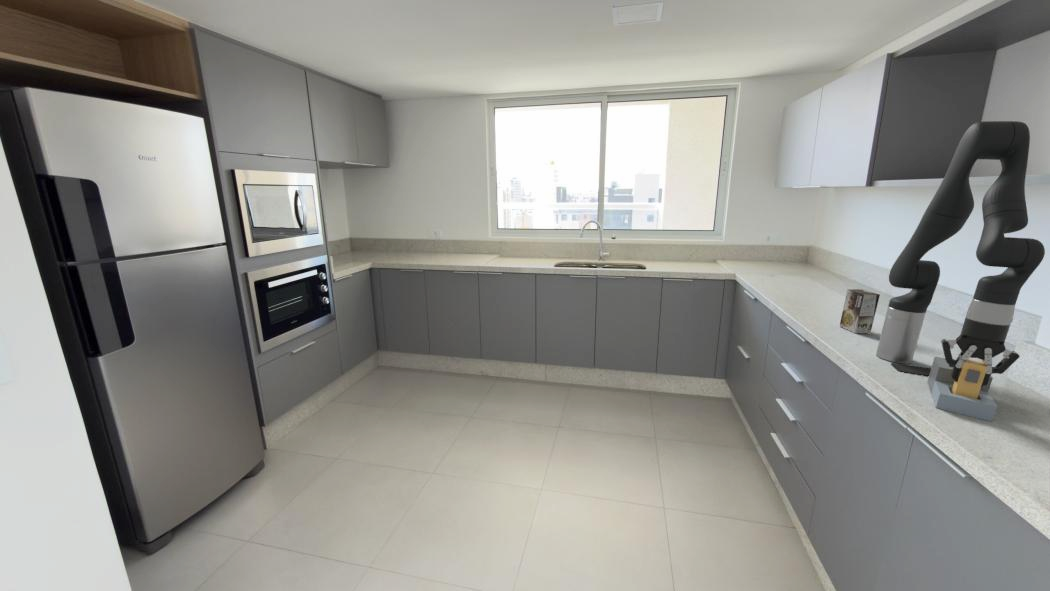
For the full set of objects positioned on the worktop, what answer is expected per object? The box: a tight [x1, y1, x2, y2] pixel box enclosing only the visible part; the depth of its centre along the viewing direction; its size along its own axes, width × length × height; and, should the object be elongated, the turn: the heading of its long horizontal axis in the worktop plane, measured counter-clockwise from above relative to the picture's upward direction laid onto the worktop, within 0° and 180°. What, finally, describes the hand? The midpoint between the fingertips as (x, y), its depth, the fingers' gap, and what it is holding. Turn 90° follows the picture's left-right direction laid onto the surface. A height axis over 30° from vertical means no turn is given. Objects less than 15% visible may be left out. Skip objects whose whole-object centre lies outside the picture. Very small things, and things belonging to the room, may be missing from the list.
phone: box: [890, 362, 931, 377], centre depth 129 cm, size 7×1×15 cm
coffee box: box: [839, 288, 881, 334], centre depth 166 cm, size 9×6×16 cm
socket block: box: [927, 356, 998, 422], centre depth 111 cm, size 20×10×8 cm, turn 141°
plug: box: [951, 358, 987, 399], centre depth 106 cm, size 5×4×10 cm
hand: (967, 383), depth 107 cm, fingers closed on plug, 3 cm apart
